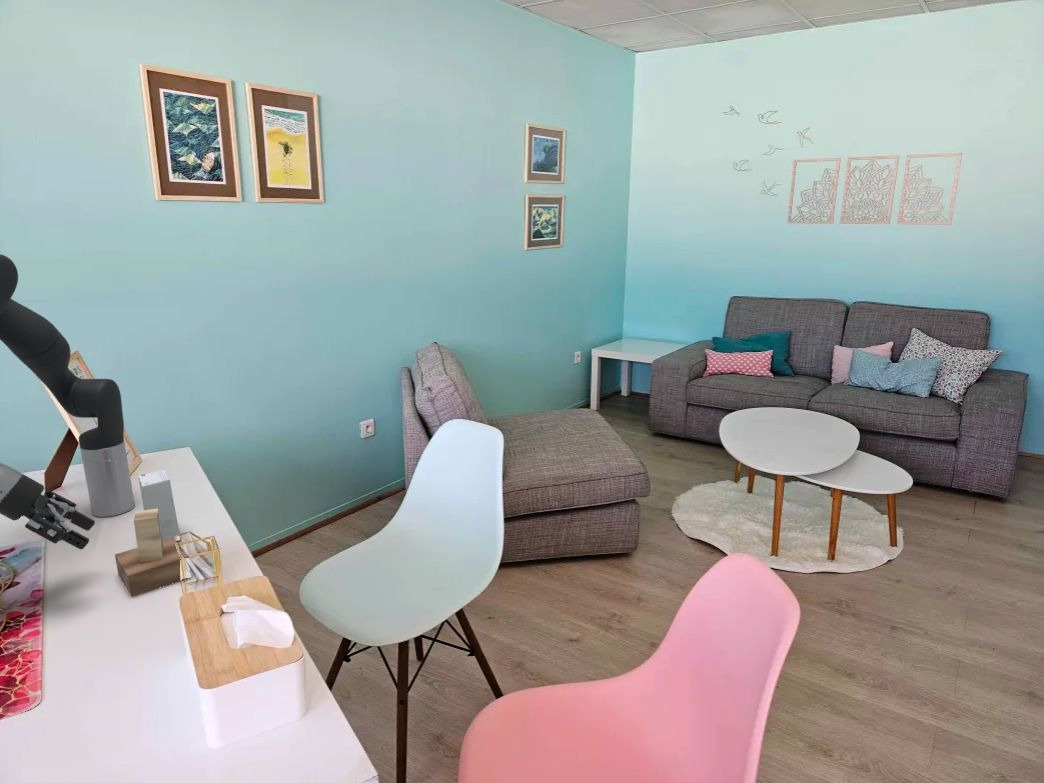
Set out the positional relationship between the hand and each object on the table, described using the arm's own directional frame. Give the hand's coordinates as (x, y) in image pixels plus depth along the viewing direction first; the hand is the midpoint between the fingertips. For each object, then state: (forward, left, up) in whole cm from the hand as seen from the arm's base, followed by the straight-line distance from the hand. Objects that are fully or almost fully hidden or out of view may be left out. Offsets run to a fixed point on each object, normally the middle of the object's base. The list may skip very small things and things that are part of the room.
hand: (89, 535), depth 133 cm
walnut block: (0, +10, -12) cm, 15 cm away
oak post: (0, +10, -7) cm, 12 cm away
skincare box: (-18, +11, -12) cm, 24 cm away
